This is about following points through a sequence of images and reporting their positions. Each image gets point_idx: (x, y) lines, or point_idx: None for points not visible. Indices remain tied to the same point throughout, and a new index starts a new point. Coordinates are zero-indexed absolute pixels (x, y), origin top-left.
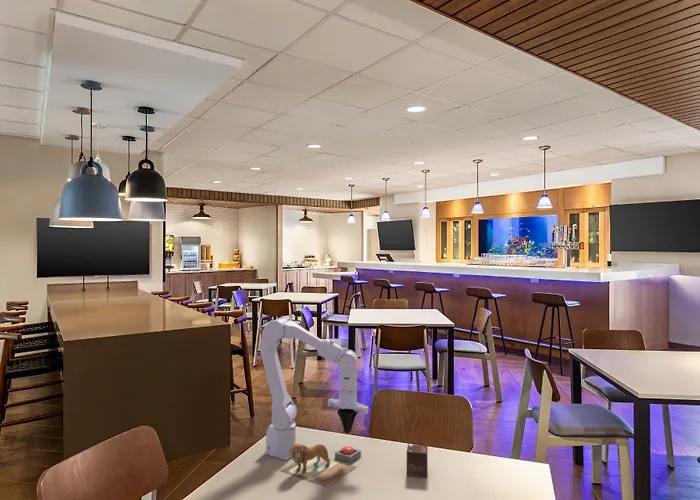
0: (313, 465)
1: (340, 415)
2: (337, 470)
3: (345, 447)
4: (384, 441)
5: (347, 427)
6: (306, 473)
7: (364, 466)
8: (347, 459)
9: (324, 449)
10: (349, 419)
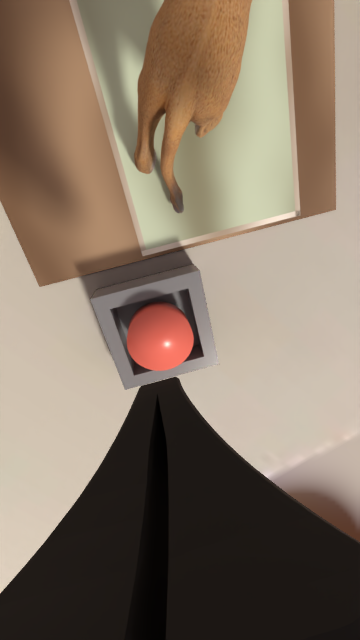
0: None
1: (253, 531)
2: (64, 169)
3: (180, 339)
4: None
5: (125, 420)
6: None
7: (26, 320)
8: (114, 288)
9: (145, 83)
10: (46, 549)
